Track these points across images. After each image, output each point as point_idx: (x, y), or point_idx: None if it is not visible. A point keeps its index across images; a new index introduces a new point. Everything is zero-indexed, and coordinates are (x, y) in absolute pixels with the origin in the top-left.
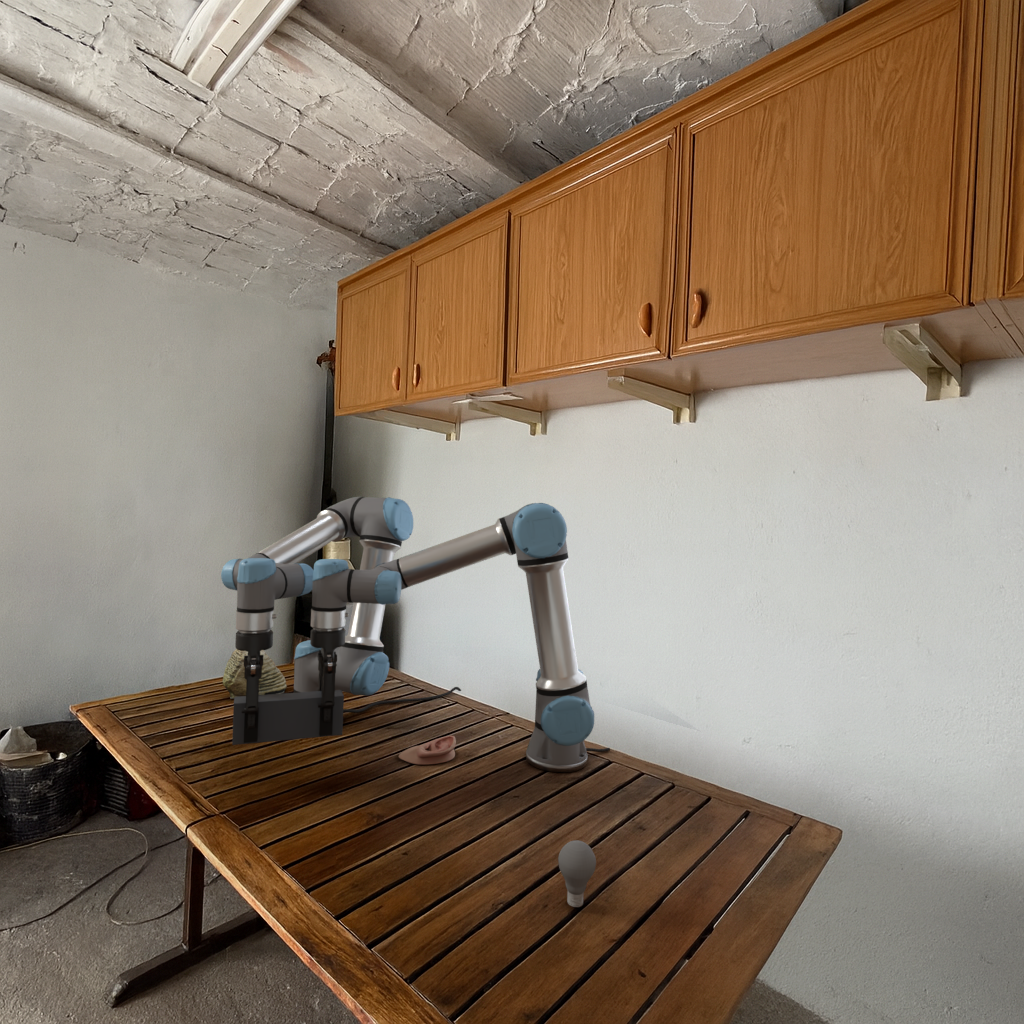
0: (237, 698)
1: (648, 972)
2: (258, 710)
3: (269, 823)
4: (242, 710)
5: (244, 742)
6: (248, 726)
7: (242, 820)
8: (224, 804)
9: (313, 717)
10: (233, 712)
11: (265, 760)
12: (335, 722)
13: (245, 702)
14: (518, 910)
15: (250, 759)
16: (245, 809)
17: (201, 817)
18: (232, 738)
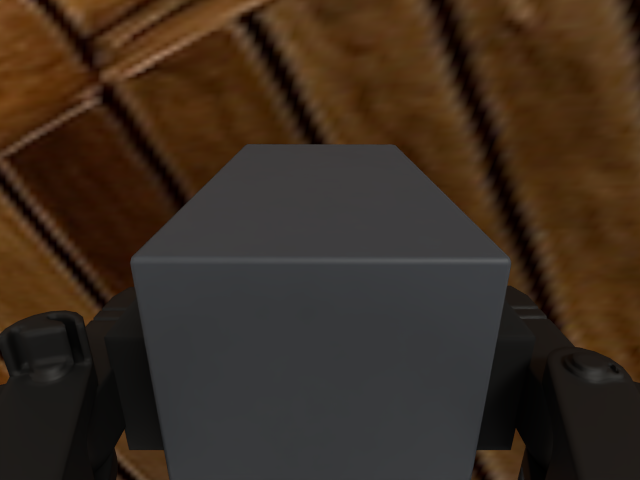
0: (396, 301)
1: None
2: (155, 449)
3: (20, 244)
4: (1, 344)
5: None
6: (114, 302)
7: (44, 164)
8: (173, 96)
9: None
10: (177, 212)
11: (529, 233)
12: None
13: (163, 405)
14: None
15: (566, 179)
16: (124, 171)
17: (76, 15)
18: (241, 151)
